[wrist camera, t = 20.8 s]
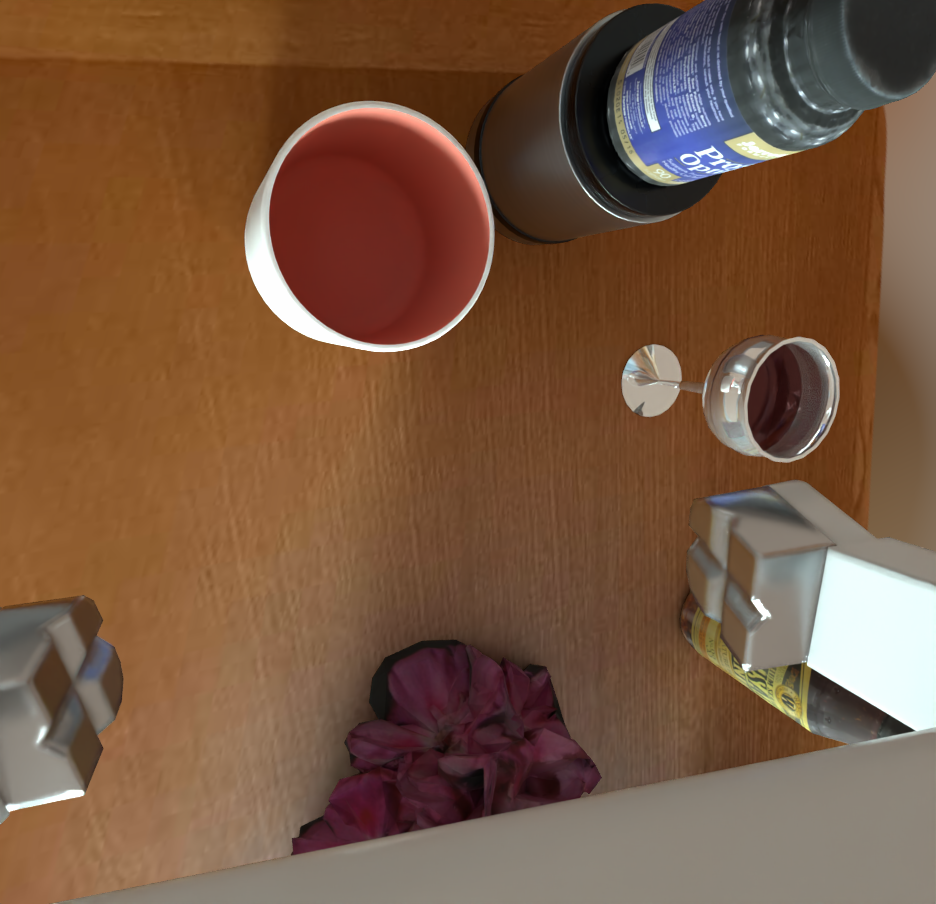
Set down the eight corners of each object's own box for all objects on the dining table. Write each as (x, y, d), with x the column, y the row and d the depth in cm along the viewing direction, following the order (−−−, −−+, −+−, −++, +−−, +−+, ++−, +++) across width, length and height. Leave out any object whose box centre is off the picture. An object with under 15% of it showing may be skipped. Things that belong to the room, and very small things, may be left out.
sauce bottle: (670, 588, 51) (936, 739, 33) (735, 561, 53) (1021, 690, 35) (679, 664, 53) (936, 847, 34) (742, 635, 55) (1017, 794, 36)
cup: (271, 121, 35) (300, 53, 26) (445, 197, 39) (523, 160, 30) (220, 310, 36) (231, 308, 27) (396, 365, 40) (458, 379, 31)
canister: (435, 122, 38) (534, 45, 27) (564, 57, 40) (704, -39, 29) (504, 273, 41) (618, 258, 30) (620, 205, 43) (766, 169, 32)
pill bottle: (622, 205, 30) (840, 151, 20) (583, 57, 28) (804, -87, 18) (728, 164, 32) (979, 94, 22) (699, 21, 30) (960, -129, 20)
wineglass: (599, 351, 45) (732, 362, 34) (681, 317, 47) (831, 317, 36) (623, 444, 47) (755, 483, 36) (700, 408, 49) (848, 435, 38)
